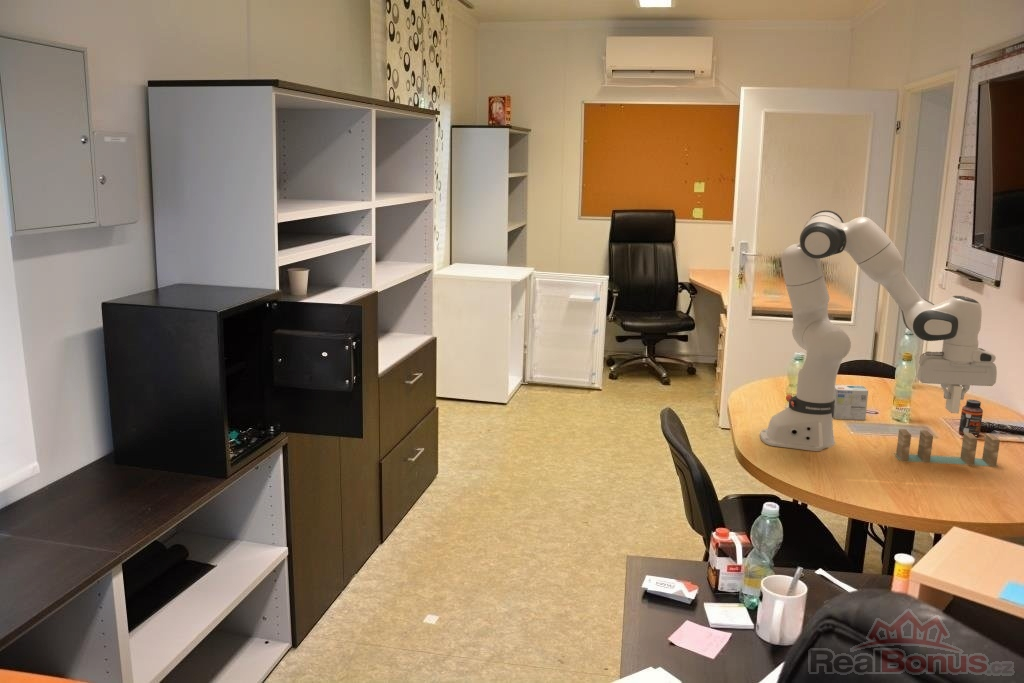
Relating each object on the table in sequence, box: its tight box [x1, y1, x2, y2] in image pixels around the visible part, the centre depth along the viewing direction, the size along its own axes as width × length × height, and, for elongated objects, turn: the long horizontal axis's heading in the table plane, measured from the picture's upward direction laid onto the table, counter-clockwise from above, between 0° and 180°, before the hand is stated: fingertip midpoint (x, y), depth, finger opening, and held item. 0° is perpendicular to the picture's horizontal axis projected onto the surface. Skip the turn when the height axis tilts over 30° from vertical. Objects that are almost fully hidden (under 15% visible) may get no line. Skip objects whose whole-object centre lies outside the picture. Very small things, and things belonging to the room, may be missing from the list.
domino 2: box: [916, 429, 934, 463], centre depth 239 cm, size 2×5×8 cm, turn 171°
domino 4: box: [959, 433, 979, 466], centre depth 237 cm, size 2×5×8 cm, turn 170°
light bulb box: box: [833, 384, 869, 421], centre depth 278 cm, size 11×7×11 cm, turn 84°
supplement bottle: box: [958, 398, 984, 436], centre depth 261 cm, size 6×6×11 cm
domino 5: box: [981, 433, 1001, 467], centre depth 236 cm, size 2×5×8 cm, turn 170°
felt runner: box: [893, 452, 999, 468], centre depth 239 cm, size 27×6×1 cm, turn 80°
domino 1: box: [895, 428, 912, 462], centre depth 240 cm, size 2×5×8 cm, turn 170°
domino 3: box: [945, 384, 963, 415], centre depth 234 cm, size 2×5×8 cm, turn 170°
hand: (953, 398), depth 234 cm, fingers closed on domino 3, 2 cm apart
